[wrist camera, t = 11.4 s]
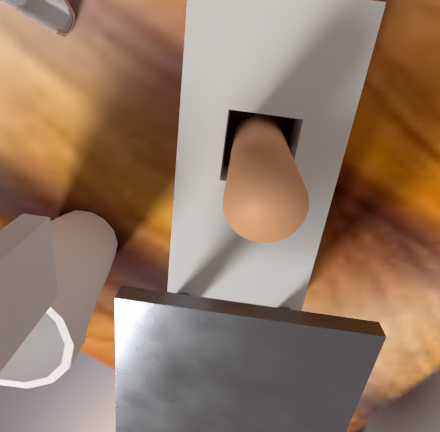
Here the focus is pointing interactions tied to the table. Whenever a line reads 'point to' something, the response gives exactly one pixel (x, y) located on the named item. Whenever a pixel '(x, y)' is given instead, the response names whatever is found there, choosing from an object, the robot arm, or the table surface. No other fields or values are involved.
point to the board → (270, 105)
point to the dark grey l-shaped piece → (236, 365)
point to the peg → (263, 183)
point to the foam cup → (65, 300)
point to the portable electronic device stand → (47, 13)
